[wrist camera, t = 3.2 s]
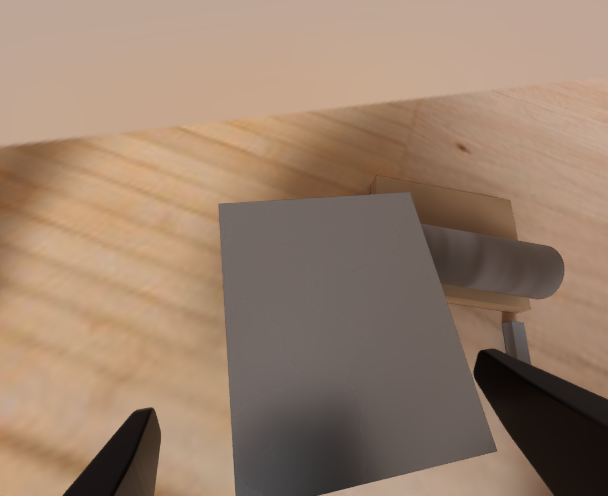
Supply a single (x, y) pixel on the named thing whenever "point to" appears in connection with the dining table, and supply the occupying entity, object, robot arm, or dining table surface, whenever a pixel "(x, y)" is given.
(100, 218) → the dining table surface
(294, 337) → the grey rectangular block
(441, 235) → the oak hinge leaf
